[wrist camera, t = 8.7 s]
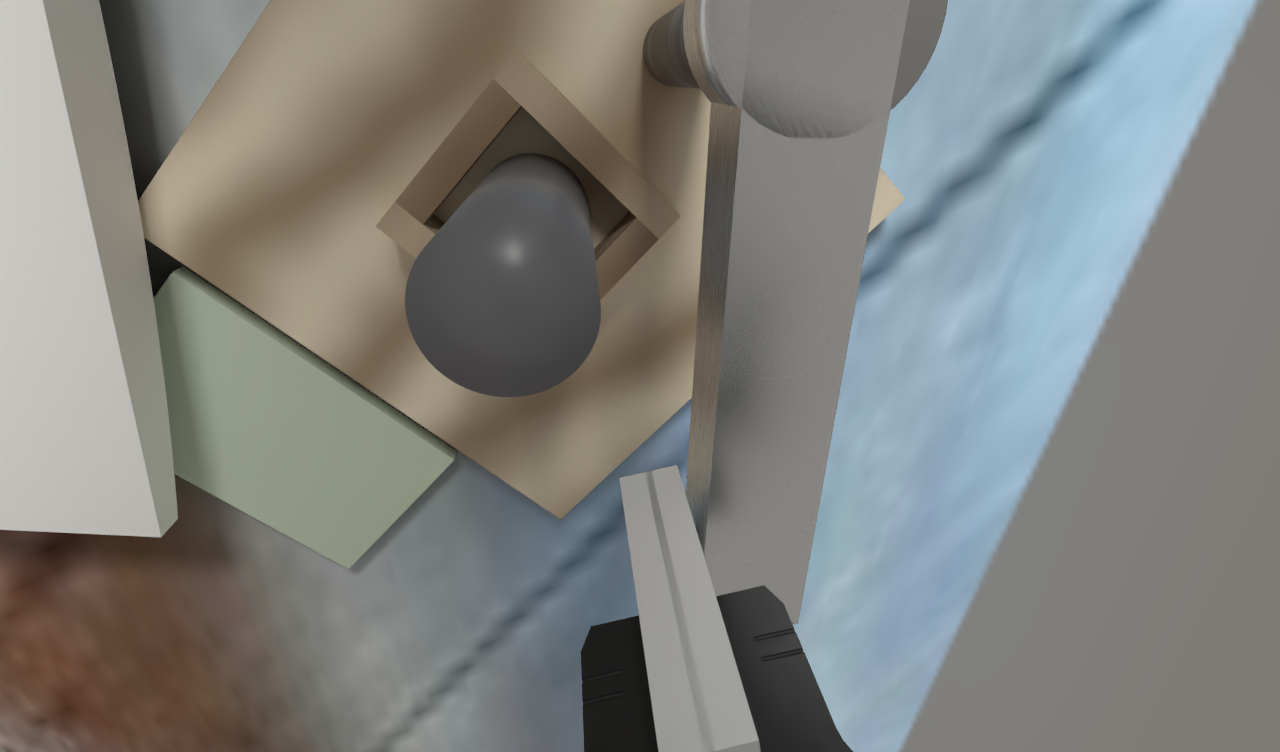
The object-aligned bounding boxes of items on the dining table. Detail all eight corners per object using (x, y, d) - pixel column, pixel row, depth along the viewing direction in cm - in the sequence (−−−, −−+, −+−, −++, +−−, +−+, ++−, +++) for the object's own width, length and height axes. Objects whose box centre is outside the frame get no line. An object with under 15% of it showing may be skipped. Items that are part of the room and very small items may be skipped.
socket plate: (147, 215, 25) (-301, 361, 12) (494, -301, 20) (341, -1028, 7) (561, 501, 33) (553, 770, 20) (889, 193, 28) (1164, 294, 15)
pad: (82, 408, 28) (69, 416, 28) (183, 266, 26) (172, 271, 25) (353, 558, 33) (348, 569, 33) (457, 451, 31) (454, 459, 30)
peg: (455, 213, 25) (364, 318, 14) (527, 127, 24) (488, 170, 13) (540, 285, 26) (518, 429, 16) (611, 208, 25) (640, 306, 14)
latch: (659, 559, 17) (672, 631, 14) (688, -105, 10) (718, -151, 8) (790, 552, 17) (822, 622, 15) (894, -93, 11) (975, -137, 9)
